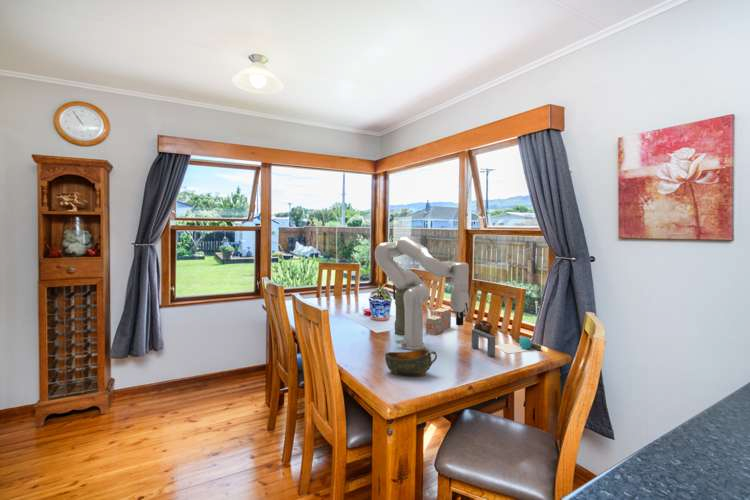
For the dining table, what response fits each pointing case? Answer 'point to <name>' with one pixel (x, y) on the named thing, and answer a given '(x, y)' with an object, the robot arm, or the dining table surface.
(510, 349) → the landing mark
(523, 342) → the ball
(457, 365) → the dining table surface
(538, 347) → the stopper wall
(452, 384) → the dining table surface
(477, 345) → the bridge
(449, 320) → the stack of blocks
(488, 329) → the decorative turtle
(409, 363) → the cup
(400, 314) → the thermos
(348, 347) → the dining table surface
